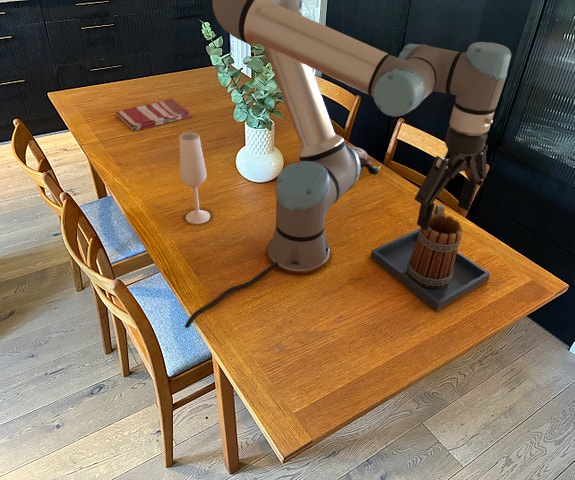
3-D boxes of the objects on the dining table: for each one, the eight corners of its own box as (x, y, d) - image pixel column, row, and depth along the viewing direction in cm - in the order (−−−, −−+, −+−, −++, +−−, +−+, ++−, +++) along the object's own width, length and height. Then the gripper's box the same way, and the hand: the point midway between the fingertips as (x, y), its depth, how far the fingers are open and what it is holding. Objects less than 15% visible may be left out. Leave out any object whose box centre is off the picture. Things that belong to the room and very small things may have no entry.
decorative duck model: (388, 160, 144) (350, 170, 137) (382, 180, 149) (345, 191, 142) (359, 136, 153) (322, 145, 146) (354, 156, 158) (318, 165, 151)
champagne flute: (186, 210, 131) (176, 130, 116) (210, 209, 131) (203, 130, 116) (184, 224, 125) (174, 142, 111) (209, 223, 126) (202, 142, 111)
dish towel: (191, 116, 180) (191, 110, 178) (133, 131, 168) (132, 124, 167) (171, 102, 190) (170, 96, 188) (115, 115, 178) (114, 109, 177)
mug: (452, 293, 107) (470, 242, 98) (405, 285, 109) (419, 234, 99) (447, 251, 119) (463, 202, 110) (406, 245, 121) (418, 196, 111)
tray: (436, 311, 103) (439, 303, 102) (370, 257, 117) (371, 250, 115) (487, 280, 111) (490, 273, 110) (420, 234, 125) (422, 227, 124)
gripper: (440, 151, 83) (417, 244, 96) (523, 121, 95) (492, 208, 108) (409, 135, 88) (391, 226, 101) (491, 108, 99) (465, 193, 112)
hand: (443, 217), depth 104 cm, fingers open, 13 cm apart
